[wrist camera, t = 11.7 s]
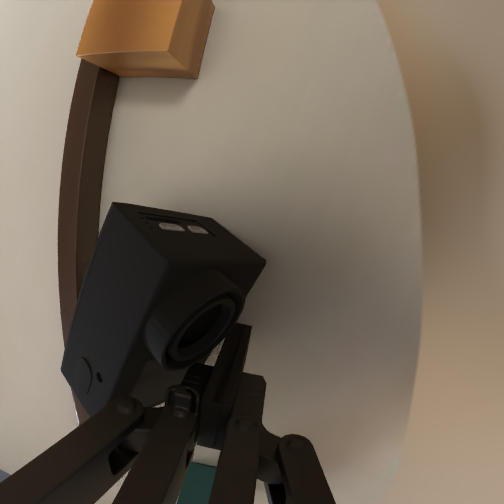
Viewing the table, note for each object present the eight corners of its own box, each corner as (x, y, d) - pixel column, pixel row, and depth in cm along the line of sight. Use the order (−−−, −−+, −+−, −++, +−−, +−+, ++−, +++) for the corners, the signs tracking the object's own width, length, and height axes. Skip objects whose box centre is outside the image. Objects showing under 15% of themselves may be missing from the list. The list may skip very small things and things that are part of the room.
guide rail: (146, -15, 14) (131, -33, 12) (116, 469, 25) (108, 485, 23) (127, -13, 14) (110, -29, 12) (104, 464, 26) (95, 479, 23)
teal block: (245, 473, 23) (239, 517, 18) (237, 497, 25) (230, 536, 20) (189, 461, 24) (176, 503, 19) (187, 487, 25) (176, 525, 20)
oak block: (215, 6, 15) (194, -37, 10) (197, 79, 16) (167, 51, 11) (139, 8, 15) (103, -26, 10) (120, 77, 16) (75, 56, 11)
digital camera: (197, 407, 18) (110, 449, 12) (145, 349, 21) (58, 370, 15) (287, 275, 16) (192, 285, 10) (212, 217, 18) (109, 200, 12)
